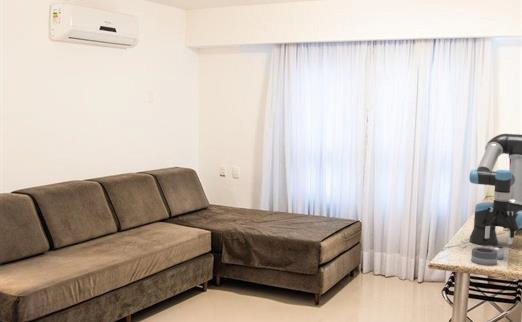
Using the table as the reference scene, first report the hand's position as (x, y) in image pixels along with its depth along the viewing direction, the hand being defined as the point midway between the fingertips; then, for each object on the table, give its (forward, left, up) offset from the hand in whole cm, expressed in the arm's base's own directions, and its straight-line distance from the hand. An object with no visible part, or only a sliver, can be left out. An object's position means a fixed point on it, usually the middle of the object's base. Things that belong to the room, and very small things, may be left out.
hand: (498, 241), depth 300 cm
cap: (0, 0, -9) cm, 9 cm away
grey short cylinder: (+13, +2, -9) cm, 16 cm away
